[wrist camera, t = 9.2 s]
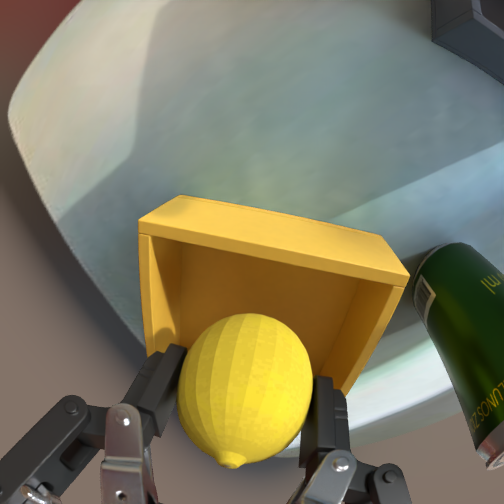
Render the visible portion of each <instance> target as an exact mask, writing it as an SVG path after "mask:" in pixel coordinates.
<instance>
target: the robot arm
mask: <svg viewBox="0 0 504 504" xmlns="http://www.w3.org/2000/svg"><path fill="white" fill-rule="evenodd" d="M187 353H188V350H187V347H183V346H180V345H176V344H173V343H170V344H169V346H168V347H167V349H166V351H165V353H162V352H159V351H156V352H154V353H153V354H152V355H150V356H149V357H148V358H147V360H146V361H145V363H144V365H143V367H142V368H141V370H140V371H139V374H138V375H137V376H136V378H135V380H134V382H133V383H132V385H131V387H130V388H129V390H128V392H127V394H126V395H125V397H124V399H123V400H122V401H121V402H120V403H118V404H115V405H113V406H112V407H108V408H104V407H97V406H90V405H87V404H86V402H85V401H84V400H83V399H82V398H81V397H79V396H76V395H69V396H65V397H63V398H62V399H61V400H60V401H59V402H58V403H57V404H56V405H55V406H54V407H53V408H52V409H51V410H50V411H49V412H48V413H47V414H46V415H45V416H44V417H43V418H41V419H40V420H39V421H38V422H37V423H36V424H35V425H34V426H33V427H32V428H31V429H30V430H29V432H28V433H26V435H24V437H22V439H21V440H19V441H18V443H17V444H16V445H15V446H14V447H13V448H12V449H11V450H10V451H9V452H8V453H7V454H6V455H5V456H4V457H3V458H2V459H1V460H0V504H62V502H61V500H60V498H59V497H60V496H61V495H62V494H63V493H64V491H65V490H66V489H67V488H68V487H69V485H70V484H71V483H72V482H73V481H74V480H75V479H76V477H77V476H78V475H79V474H80V473H81V471H82V470H83V469H84V468H85V467H86V465H87V464H88V463H89V462H90V461H91V459H92V458H93V457H94V456H95V455H96V454H97V452H98V451H99V450H100V449H104V450H105V458H104V461H102V462H101V466H100V483H101V502H102V504H162V503H159V502H158V496H157V492H156V487H155V483H154V477H153V469H152V459H151V448H150V443H151V441H152V438H153V436H154V435H155V436H157V437H161V436H162V433H163V431H164V429H165V426H166V424H167V422H168V419H169V417H170V414H171V412H172V409H173V407H174V405H175V403H176V394H177V385H178V380H179V376H180V373H181V369H182V366H183V363H184V360H185V357H186V355H187ZM347 418H348V414H347V403H346V398H345V396H344V394H343V393H342V391H341V390H339V389H334V388H333V378H332V377H328V376H320V375H315V376H314V378H313V391H312V397H311V402H310V406H309V410H308V414H307V417H306V420H305V423H304V425H303V427H302V429H301V441H300V456H299V468H306V475H305V476H304V477H303V479H302V481H301V482H300V484H299V485H298V487H297V488H296V490H295V492H294V493H293V495H292V496H291V498H290V499H289V500H288V502H287V504H340V503H341V501H343V502H345V504H412V502H411V498H410V495H409V492H408V488H407V485H406V482H405V479H404V476H403V473H402V470H401V469H400V468H399V467H398V466H397V465H394V464H390V463H388V464H383V465H381V466H380V467H375V466H371V465H368V464H365V463H362V462H360V461H358V460H357V459H356V458H355V457H354V455H353V454H352V453H351V450H350V441H349V426H348V419H347ZM122 500H123V501H122Z"/></svg>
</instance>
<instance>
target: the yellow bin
mask: <svg viewBox="0 0 504 504" xmlns="http://www.w3.org/2000/svg"><path fill="white" fill-rule="evenodd" d="M138 233H139V234H138V252H139V276H140V292H141V305H142V316H143V326H144V335H145V343H146V350H147V357H149V356H150V355H152V354H153V353H154V352H156V351H159V352H162V353H165V351H166V349H167V347H168V346H169V344H170V343H173V344H176V345H180V346H183V347H187V350H188V351H189V350H190V348H191V347H192V345H193V344H194V343H195V341H196V340H197V339H198V338H199V337H200V335H201V334H202V333H203V332H204V331H205V330H206V329H207V328H208V327H210V326H211V325H213V324H215V323H216V322H218V321H219V320H221V319H223V318H226V317H229V316H233V315H236V314H246V313H253V314H262V315H265V316H268V317H272V318H274V319H276V320H278V321H280V322H282V323H283V324H285V325H286V326H287V327H289V328H290V329H291V330H292V331H293V332H294V333H295V334H296V335H297V336H298V338H299V339H300V341H301V343H302V344H303V346H304V347H305V349H306V351H307V354H308V357H309V361H310V365H311V369H312V375H313V378H314V376H315V375H320V376H328V377H332V378H333V388H334V389H339V390H341V391H342V393H343V394H344V396H345V397H346V395H347V394H348V392H349V391H350V389H351V387H352V386H353V384H354V383H355V381H356V380H357V378H358V376H359V375H360V373H361V371H362V370H363V368H364V367H365V365H366V363H367V361H368V360H369V358H370V356H371V354H372V353H373V351H374V349H375V347H376V346H377V344H378V342H379V340H380V338H381V336H382V334H383V333H384V331H385V329H386V327H387V325H388V323H389V321H390V319H391V317H392V315H393V313H394V311H395V309H396V306H397V304H398V302H399V300H400V298H401V296H402V293H403V291H404V287H406V284H407V282H408V280H409V277H410V275H409V273H408V272H407V270H406V269H405V267H404V266H403V265H402V263H401V262H400V260H399V259H398V258H397V256H396V255H395V253H394V252H393V251H392V249H391V248H390V247H389V245H388V244H387V243H386V241H385V240H384V239H383V238H382V236H381V235H377V234H373V233H369V232H365V231H361V230H356V229H352V228H348V227H344V226H339V225H335V224H331V223H326V222H322V221H317V220H313V219H308V218H303V217H299V216H294V215H289V214H284V213H279V212H274V211H269V210H264V209H259V208H254V207H249V206H243V205H238V204H233V203H227V202H221V201H216V200H210V199H204V198H198V197H192V196H186V195H179V196H177V197H175V198H173V199H172V200H170V201H168V202H166V203H165V204H163V205H161V206H160V207H158V208H156V209H155V210H153V211H151V212H150V213H148V214H147V215H145V216H143V217H142V218H140V219H139V220H138Z"/></svg>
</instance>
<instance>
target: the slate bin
mask: <svg viewBox="0 0 504 504" xmlns="http://www.w3.org/2000/svg"><path fill="white" fill-rule="evenodd" d="M431 11H432V42H434V43H436V44H438V45H440V46H442V47H444V48H446V49H448V50H450V51H451V52H453V53H455V54H457V55H459V56H460V57H462V58H464V59H466V60H467V61H469V62H471V63H472V64H474V65H475V66H477V67H479V68H480V69H482V70H483V71H485V72H486V73H488V74H489V75H491V76H492V77H493V78H495V79H496V80H498V81H499V82H500V83H502V84H503V85H504V0H431Z"/></svg>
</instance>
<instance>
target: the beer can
mask: <svg viewBox="0 0 504 504" xmlns="http://www.w3.org/2000/svg"><path fill="white" fill-rule="evenodd" d="M412 297H413V303H414V307H415V308H416V310H417V312H418V314H419V316H420V318H421V319H422V321H423V323H424V325H425V327H426V329H427V331H428V333H429V335H430V337H431V339H432V341H433V343H434V345H435V347H436V349H437V351H438V353H439V355H440V357H441V360H442V362H443V364H444V366H445V368H446V371H447V373H448V375H449V377H450V380H451V382H452V385H453V387H454V389H455V392H456V394H457V397H458V399H459V402H460V405H461V407H462V410H463V413H464V415H465V418H466V421H467V424H468V427H469V430H470V433H471V436H472V439H473V442H474V446H475V449H476V452H477V453H478V455H479V456H480V457H482V458H483V459H484V460H486V461H487V462H486V467H487V469H488V470H493V469H496V468H498V467H500V466H502V465H504V275H503V274H502V273H501V272H500V271H499V270H498V269H497V268H496V267H494V266H493V265H492V264H491V263H490V262H489V261H488V260H487V259H485V258H484V257H483V256H482V255H481V254H480V253H479V252H477V251H476V250H475V249H474V248H473V247H471V246H470V245H467V244H464V243H461V242H459V243H446V244H443V245H440V246H438V247H436V248H434V249H433V250H432V251H431V252H430V253H428V254H427V255H426V256H425V257H424V259H423V260H422V262H421V263H420V264H419V266H418V268H417V271H416V273H415V276H414V281H413V289H412Z"/></svg>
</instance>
